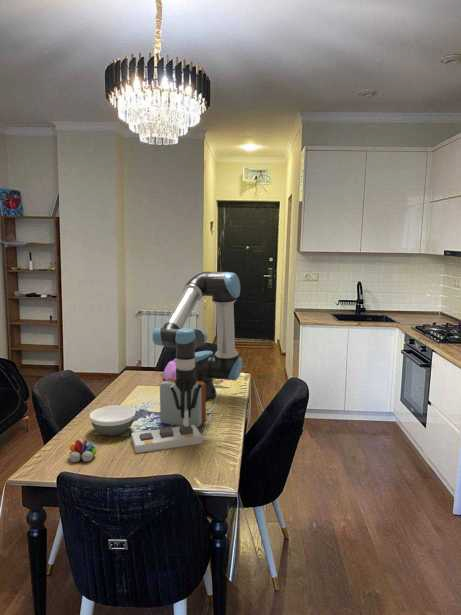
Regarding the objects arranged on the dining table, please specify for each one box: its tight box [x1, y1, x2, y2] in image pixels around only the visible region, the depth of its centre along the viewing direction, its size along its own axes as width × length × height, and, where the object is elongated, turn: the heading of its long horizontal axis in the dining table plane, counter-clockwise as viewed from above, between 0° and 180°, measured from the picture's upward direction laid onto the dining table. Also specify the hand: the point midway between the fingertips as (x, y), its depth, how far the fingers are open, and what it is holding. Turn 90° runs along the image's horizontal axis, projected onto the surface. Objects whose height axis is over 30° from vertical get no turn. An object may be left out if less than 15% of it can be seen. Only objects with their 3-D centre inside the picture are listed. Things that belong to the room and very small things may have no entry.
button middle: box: [159, 426, 173, 438], centre depth 186 cm, size 4×4×3 cm
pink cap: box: [162, 358, 177, 381], centre depth 267 cm, size 22×16×12 cm
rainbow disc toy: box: [69, 438, 97, 463], centre depth 172 cm, size 8×10×7 cm
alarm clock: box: [159, 378, 207, 429], centre depth 204 cm, size 18×9×21 cm, turn 71°
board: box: [131, 425, 203, 454], centre depth 186 cm, size 26×12×3 cm, turn 110°
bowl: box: [89, 404, 137, 437], centre depth 195 cm, size 19×19×8 cm
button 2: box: [178, 425, 193, 435], centre depth 188 cm, size 4×4×3 cm
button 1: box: [140, 433, 153, 441], centre depth 183 cm, size 4×4×3 cm
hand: (185, 425), depth 188 cm, fingers closed
